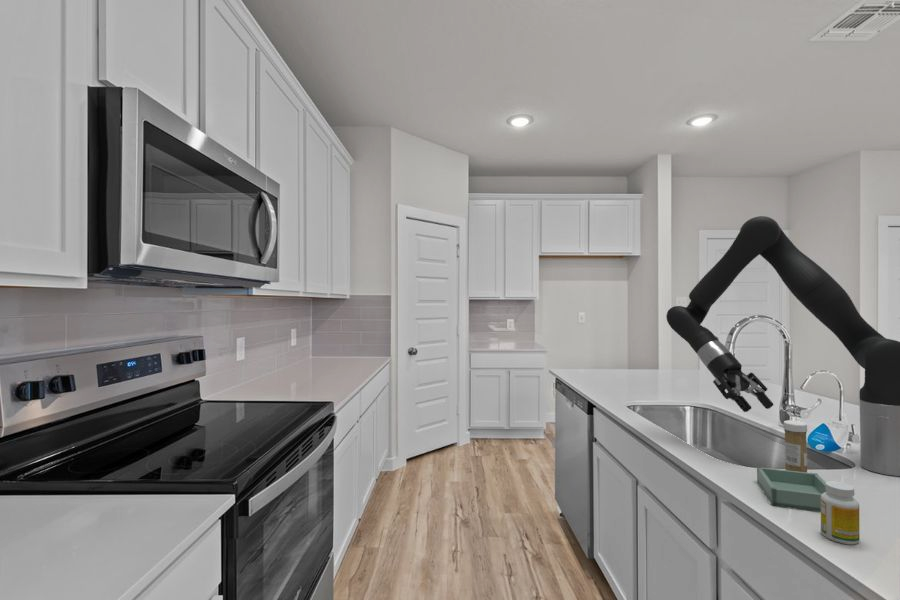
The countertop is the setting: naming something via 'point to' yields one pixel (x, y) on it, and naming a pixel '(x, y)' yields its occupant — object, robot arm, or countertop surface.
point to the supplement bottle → (840, 513)
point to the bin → (792, 488)
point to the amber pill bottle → (795, 446)
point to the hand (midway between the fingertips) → (759, 408)
